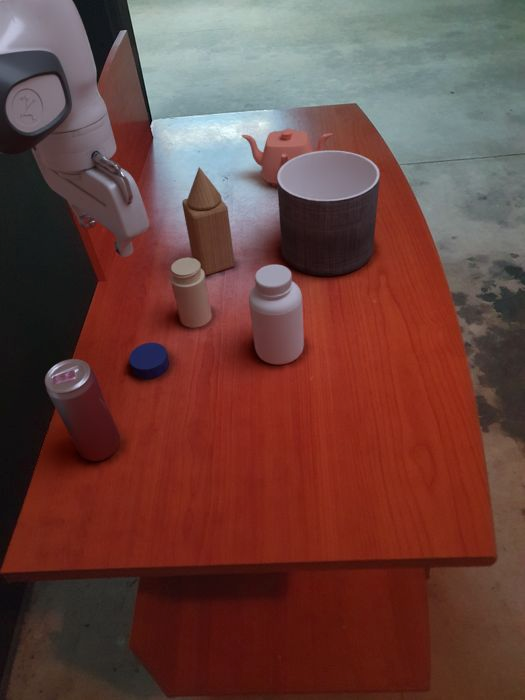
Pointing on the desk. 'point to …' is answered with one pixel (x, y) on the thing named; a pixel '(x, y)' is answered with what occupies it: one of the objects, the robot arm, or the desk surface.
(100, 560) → the desk surface
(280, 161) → the teapot
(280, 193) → the planter
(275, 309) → the pill bottle
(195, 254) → the decorative item
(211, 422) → the desk surface
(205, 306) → the jar
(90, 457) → the beverage can
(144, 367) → the jar lid
